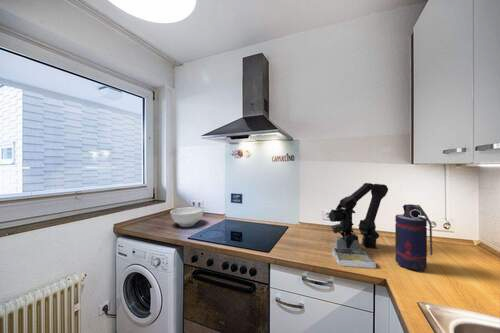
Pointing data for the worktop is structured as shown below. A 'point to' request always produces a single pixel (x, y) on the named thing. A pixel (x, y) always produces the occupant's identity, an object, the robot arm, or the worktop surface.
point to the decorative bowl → (187, 215)
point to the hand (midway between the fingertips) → (346, 246)
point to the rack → (353, 257)
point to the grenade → (412, 238)
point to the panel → (342, 243)
